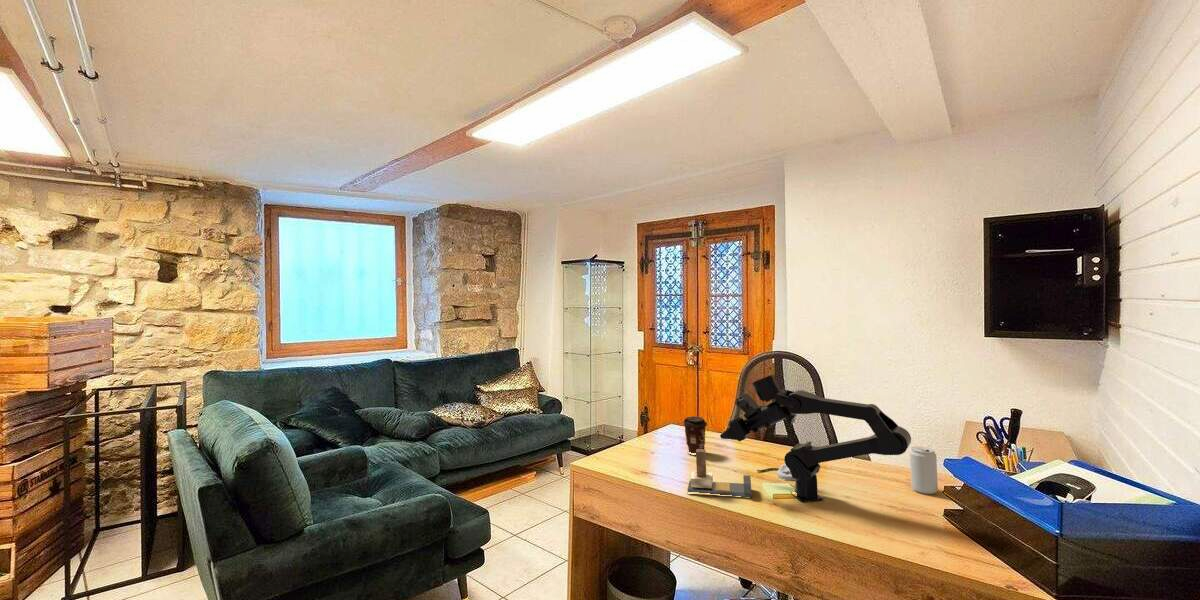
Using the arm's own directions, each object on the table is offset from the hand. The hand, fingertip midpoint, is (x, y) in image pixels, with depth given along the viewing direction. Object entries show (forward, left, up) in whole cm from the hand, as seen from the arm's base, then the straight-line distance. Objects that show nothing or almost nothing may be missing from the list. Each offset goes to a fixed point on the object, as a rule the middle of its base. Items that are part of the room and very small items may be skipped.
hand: (727, 433), depth 156 cm
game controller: (+4, -19, -15) cm, 25 cm away
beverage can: (-20, -50, -15) cm, 56 cm away
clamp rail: (-8, +6, -15) cm, 18 cm away
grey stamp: (-6, +11, -13) cm, 18 cm away
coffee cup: (+28, +2, -15) cm, 32 cm away
